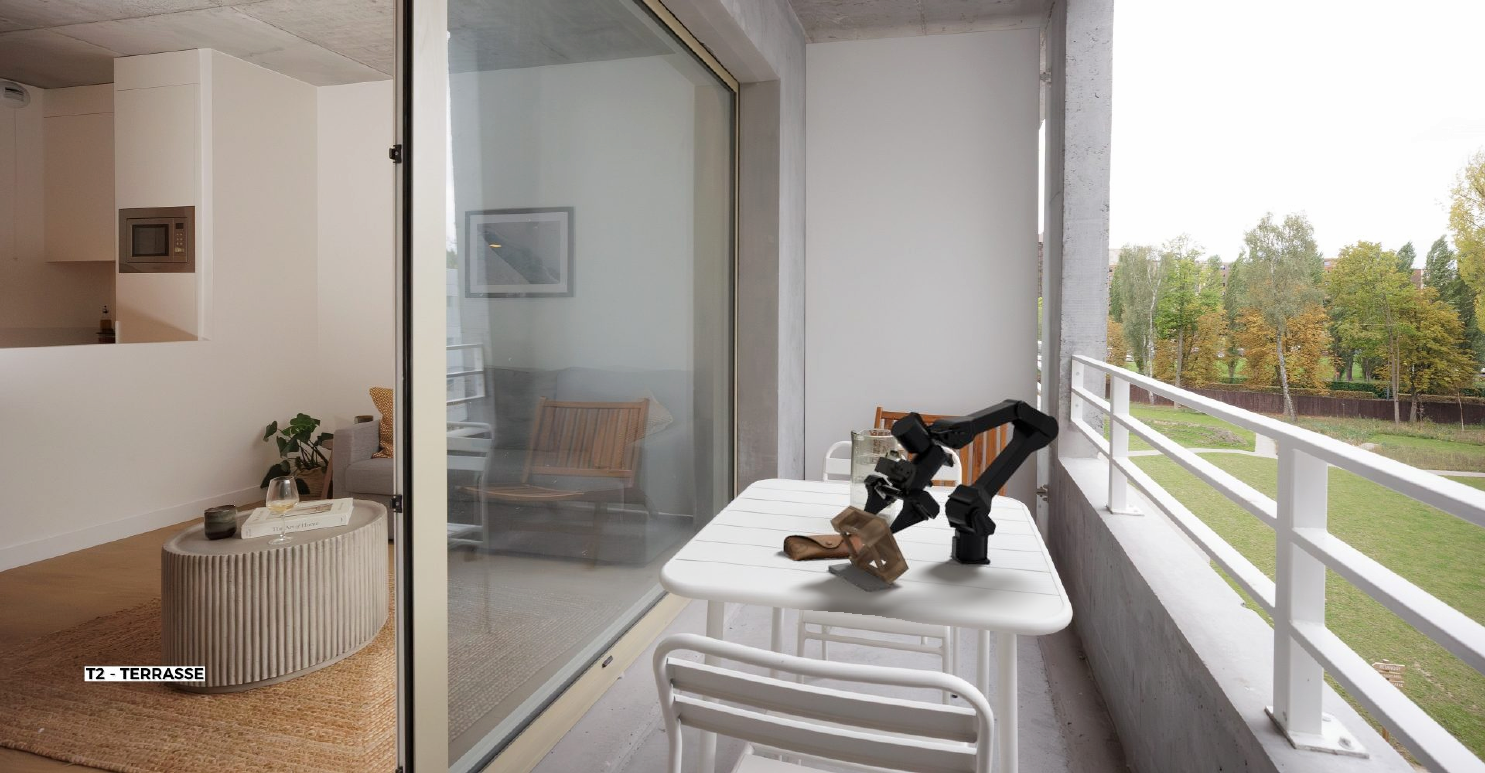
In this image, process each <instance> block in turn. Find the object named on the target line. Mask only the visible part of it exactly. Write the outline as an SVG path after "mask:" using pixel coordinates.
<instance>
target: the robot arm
mask: <svg viewBox="0 0 1485 773" xmlns="http://www.w3.org/2000/svg"><path fill="white" fill-rule="evenodd" d="M1058 423H1059V422H1058V421H1057V419H1056V418H1055V417H1054V416H1052V415H1048V414H1046V413H1044V412H1042V411H1041V410H1038V409H1036V408H1035V407H1034V406H1033V407H1032V406H1031V405H1030V404H1029V403H1027V402H1026V401H1024V400H1021V399H1015V398H1007V399H1004V400H1003V401H1002V402H998V403H996V404H994V405H991V406H988V407H986V408H983V409H981V410H978V411H975V412H972V413H969V414H967V415H962V416H948V417H942V418H936V419H935V420H934V421H933V422H932V423H931V424H926V422H925V421H924V420H923V418H922V415H921V414H920V413H919V412H916V411H911V412H910V413H909V414H907V415H904V416H902V417H901V418H898V420H896V421H894V423H893V424H892V426H891V428H890V434H891V435H892V437H893V438H894V440H895V441H896V442H897V443H898V444H899V445H900V446H901V448H902V449H903V450H904V452H906V454H908V455H913V456H912V457H911V458H910V460H907V459H903V458H900V459H899V460H893V459H891V458H888V457H884V456H879V457H878V460H877V462H876V465H875V467H874V472H876V473H880V474H882V475H884V476H886V478H885V477H883V476H879V475H877V474H875V473H874V474H868V475H867V476H866V477H865V479H863V482H862V483H863V484H864V488H865V490H866V491H867V499H866V502H865V506H864V508H863V509H862V510H863V511H866V512H868V513H871V514H873V515H876V516H878V514H879V513H881V512H882V511H883V510H884V509H886V508H887V507H888V506H889V502H892V501H893V500H894V498H895V499H898V500H901V501H902V507H901V510H899V512H898V514H897V516H896V517H895V519H893V522H892V523H891V524H890V525H889V528H890V530H891V532H892V534H893V535H895V534H897V533H899V532H901V531H903V530H906V529H907V528H909V527H912V526H914V525H917V524H919V523H921V522H925V521H927V522H928V521H930V519H931V520H936V518H937V517H938V515H939V514H940V512H941V506H940V504H939V503H938V501H937V500H936V499H935V498H934V496H932V494H930V492H929V491H928V490H925V489H926V487H928V488H932V487H933V486H934V485H935V484H934V482H933V481H932V479H933V478H934V477H935V476H936V475H937V473H938V472H939V470H940V469H941V468H942V467H943V466H945V467H949V468H953V467H955V466H954V460H953V456H954V455H953V453H949V452H946V451H945V449H944V448H947V449H950V450H956V451H957V450H958V451H959V450H962V449H964V448H965V447H966V446H969V444H971V443H973V442H974V441H975V438H976V437H977V436H978V435H980V434H982V433H986V432H988V431H992V430H994V429H997V428H998V427H1001V426H1003V425H1005V424H1011V425H1012V426H1013V429H1012V437H1011V440H1010V441H1009V442H1008V443H1007V444H1006V446H1005V447H1004V448H1003V449H1001V452H1000V453H999V454H998V455H997V456H996V457H995V458H994V460H992V462H991V463H990V464H989V465H988V466H987V467H986V469H985V470H984V471H983V472H982V473H981V474H980V476H979V477H978V478H977V479H976V480H975V481H974V482H973V483H972V484H971V485H966V484H964V483H963V484H962V483H959V484H958V485H957V486H956V487H955V488H954V490H953V491H952V492H951V493H950V494H948V495H947V497H948V499H947V500H946V502H945V504H944V512H945V517H946V519H947V522H948V525H949V527H950V528H952V529H954V535H952V537H951V553H950V556H952V557H953V558H955V560H956V561H958V562H959V563H960V564H991V559H989V558H988V554H989V552H988V550H989V549H988V548H989V547H988V546H989V537H990V536H992V535H994V534H995V531H996V528H997V524H996V523H995V521H993V519H992V518H991V517H990V516H989V515H990V513H991V510H992V503H993V499H994V497H995V496H996V495H997V494H998V492H999V491H1001V490H1002V488H1003V487H1004V486H1005V484H1006V483H1007V482H1008V481H1009V480H1010V479H1011V477H1013V475H1014V474H1015V473H1016V472H1017V471H1018V469H1020V467H1021V465H1023V463H1024V462H1025V461H1026V460H1027V459H1028V458H1029V457H1030V455H1031V454H1033V453H1034V452H1035V453H1036V452H1037V451H1040V450H1042V449H1044V448H1046V447H1047V446H1049V444H1051V443H1052V442H1053V441H1054V440H1056V438H1057V436H1058V435H1059V431H1060V426H1059V424H1058ZM943 447H944V448H943ZM889 483H890V484H891V485H890V484H889Z"/></svg>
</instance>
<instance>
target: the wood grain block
mask: <svg viewBox="0 0 1485 773" xmlns="http://www.w3.org/2000/svg"><path fill="white" fill-rule="evenodd" d="M863 510H864V509H860V508H858V507H856V506H853V505H848V506H847V507H846V508H845V509H844V510H842V511H841V512H839V513H838V514H837V515H836V516H834V517H833V518H832V519H830V520H829V521H830V525H831V526H832V528H833V530H834V532H836V533H838V534H840V535H841V537H842V539H843V541H844V543H845V545H846V547H847V549H848V551H849V553H850V555H851V556H850V557H848V558H847V559H848V560H849V561H850V562H849V563H851V564H853V565H855V566H857V567H859V568H861V569H862V570H864V571H866V572H868V573H870V574H872V575H874V576H876V577H877V576H878V578H880V579H882V580H884V581H886V582H888V583H890V585H891V584H892V583H894V582H895V581H897V579H899V577H901V576H902V575H903V574H905V573H906V572H907V571H908V570H910V567H909V565H908V563H907V561H906V560H905V557H904V555H903V552H902V551H901V549H900V547H899V545H898V543H897V541H896V538H895V536H894V534H892V532H891V530H890V525H889V523H888V522H887V520H886V519H885V518H883V517H881V516H879V515H873V514H871V513H868V512H866V511H863ZM854 526H855V527H854ZM847 534H851V535H853V536H856V537H858V538H859V539H860V541H861V543H862V544H863V546H862V547H861V548H860V549H858V550H857V551H855V549H854V547H853V545H852V543H851V541H850V539H849V537H848V535H847ZM872 562H874V563H875V566H874V565H873V564H872ZM883 562H885V563H883Z"/></svg>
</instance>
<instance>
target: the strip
mask: <svg viewBox="0 0 1485 773" xmlns="http://www.w3.org/2000/svg"><path fill="white" fill-rule="evenodd" d="M827 568H828V569H829V571H830V572H832V571H833V572H832V573H834V574H835V573H836V575H837V574H839V575H840V577H841V576H842V577H841V578H843V577H844V578H846V579H847V580H846V579H845V580H846V581H848V580H849V582H850V581H851V582H850V583H852V582H853V583H852V584H854V585H855V584H857V585H859V586H860V587H859V586H858V587H859V588H861V587H862V588H861V589H863V588H864V589H866V590H867V592H868V591H869V592H873V591H872V590H875V591H878V590H877V589H880V590H884V589H883V588H886V589H890V588H891V584H890V583H888V582H886V581H884V580H882V579H880V578H879V577H877V575H875V574H873V573H871V572H869V571H867V570H865V569H863V570H862V569H861V568H859V567H857V566H855V565H853V564H851V562H844V563H838V564H831V565H830V564H829V565H828V567H827ZM839 575H838V576H839ZM844 578H843V579H844ZM857 585H856V586H857ZM864 589H863V590H864ZM866 590H865V591H866Z"/></svg>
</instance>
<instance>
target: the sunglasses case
mask: <svg viewBox="0 0 1485 773" xmlns="http://www.w3.org/2000/svg"><path fill="white" fill-rule="evenodd" d="M847 535H848V537H849V539H850V541H851V543H852V545H853V547H854V549H855V551H857V550H858V549H860V548H861V547H862V546H863V545H864V544H862V543H861V541H860V539H859V538H858V537H856V536H853V535H851V534H849V533H847ZM782 544H783V545H782V546H783V552H784V553H785V554H786V555H787V556H788V557H789V558H790V559H791V560H792V562H802V561H801V560H804V561H814V560H813V559H817V560H826V559H825V558H836V559H846V558H845V557H850V556H851V555H850V553H849V551H848V549H847V547H846V545H845V543H844V541H843V539H842V537H841V535H840V533H838V534H816V535H801V534H792V535H787V536H786V537H785V538H784V540H783V543H782Z"/></svg>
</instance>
